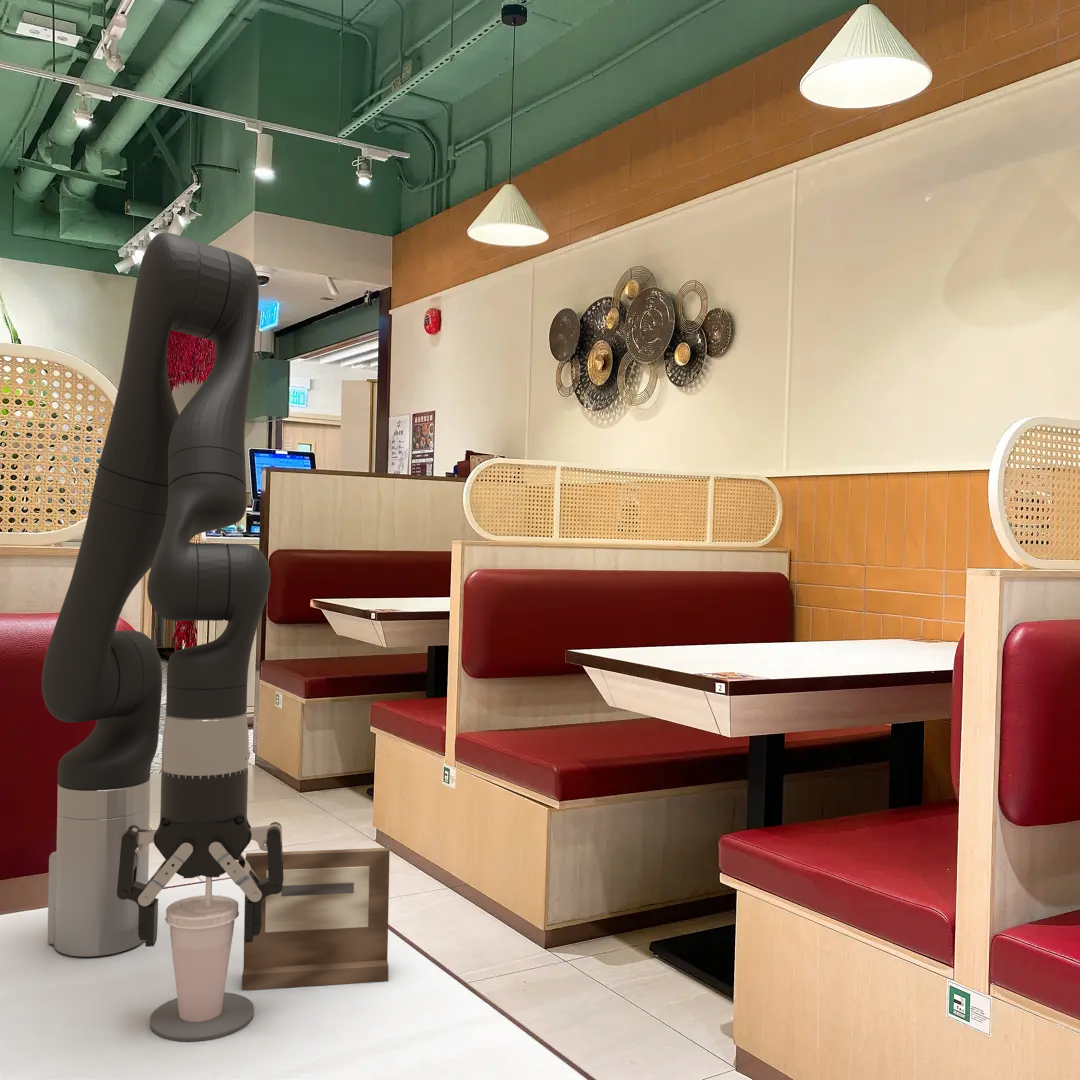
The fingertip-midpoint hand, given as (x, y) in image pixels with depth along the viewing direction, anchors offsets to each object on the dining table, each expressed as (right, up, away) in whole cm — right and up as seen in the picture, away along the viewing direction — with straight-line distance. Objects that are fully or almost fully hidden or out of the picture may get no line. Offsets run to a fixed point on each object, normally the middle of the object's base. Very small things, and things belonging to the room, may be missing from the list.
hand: (200, 941), depth 97 cm
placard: (+8, -7, +10) cm, 15 cm away
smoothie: (0, -7, 0) cm, 7 cm away
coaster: (0, -7, 0) cm, 7 cm away
